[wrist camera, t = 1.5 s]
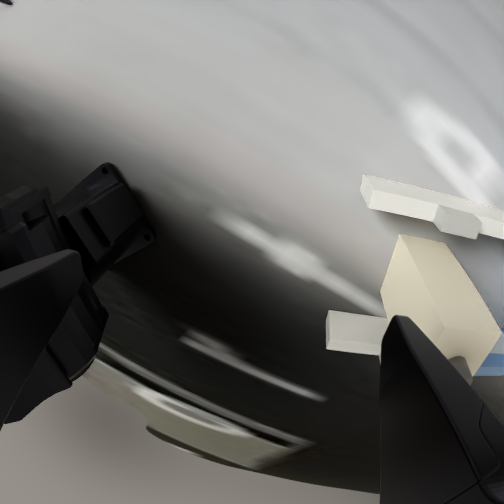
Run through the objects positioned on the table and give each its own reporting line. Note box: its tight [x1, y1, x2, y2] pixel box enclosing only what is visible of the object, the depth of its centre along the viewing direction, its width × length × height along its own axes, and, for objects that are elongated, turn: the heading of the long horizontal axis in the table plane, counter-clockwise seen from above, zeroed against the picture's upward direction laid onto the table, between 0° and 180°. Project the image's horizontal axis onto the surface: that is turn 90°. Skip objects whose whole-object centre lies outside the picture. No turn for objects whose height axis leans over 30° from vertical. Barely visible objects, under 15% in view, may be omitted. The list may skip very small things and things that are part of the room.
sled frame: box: [326, 174, 504, 376], centre depth 17 cm, size 18×11×5 cm, turn 84°
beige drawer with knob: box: [380, 234, 502, 386], centre depth 16 cm, size 4×4×10 cm
